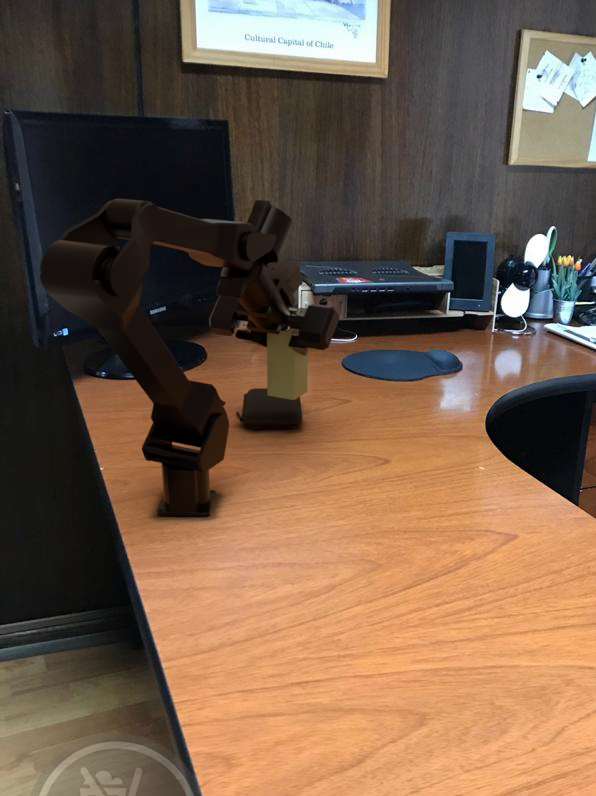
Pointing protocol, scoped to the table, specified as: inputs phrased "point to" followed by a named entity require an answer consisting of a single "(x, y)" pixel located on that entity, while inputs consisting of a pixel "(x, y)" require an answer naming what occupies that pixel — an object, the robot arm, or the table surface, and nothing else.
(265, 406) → the carrying case
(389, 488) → the table surface
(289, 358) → the block
